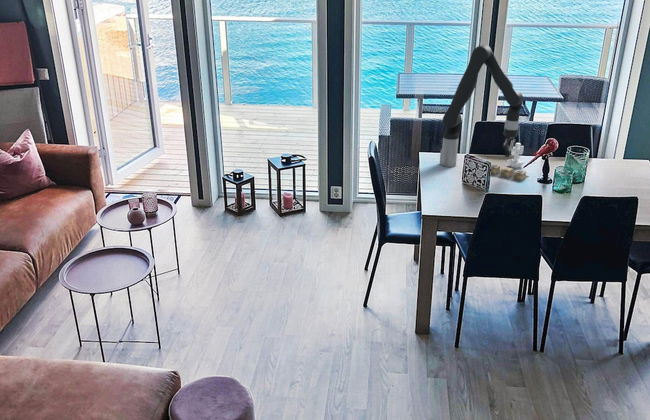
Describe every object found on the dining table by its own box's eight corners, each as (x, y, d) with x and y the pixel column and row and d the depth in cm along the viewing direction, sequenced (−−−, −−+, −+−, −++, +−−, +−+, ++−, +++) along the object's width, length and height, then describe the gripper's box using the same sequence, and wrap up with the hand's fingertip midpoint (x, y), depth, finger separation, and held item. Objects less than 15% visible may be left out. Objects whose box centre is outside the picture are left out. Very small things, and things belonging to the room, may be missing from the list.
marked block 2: (513, 178, 354) (514, 171, 352) (517, 176, 357) (517, 169, 355) (521, 180, 351) (522, 173, 349) (525, 178, 354) (526, 170, 352)
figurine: (515, 163, 379) (518, 140, 373) (524, 168, 371) (528, 144, 365) (505, 165, 377) (508, 141, 371) (514, 169, 369) (517, 145, 363)
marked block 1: (487, 172, 363) (488, 165, 361) (491, 170, 367) (492, 163, 365) (495, 174, 360) (496, 167, 358) (499, 172, 364) (500, 165, 362)
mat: (483, 174, 360) (483, 174, 360) (494, 168, 370) (494, 168, 370) (519, 183, 347) (519, 182, 347) (529, 176, 357) (529, 176, 357)
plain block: (500, 175, 358) (501, 168, 357) (504, 173, 362) (504, 166, 360) (508, 177, 355) (509, 170, 354) (512, 175, 359) (513, 168, 357)
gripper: (510, 124, 356) (506, 152, 362) (499, 128, 346) (496, 157, 353) (522, 126, 351) (518, 155, 358) (512, 131, 342) (508, 160, 349)
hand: (507, 156), depth 355 cm, fingers closed
